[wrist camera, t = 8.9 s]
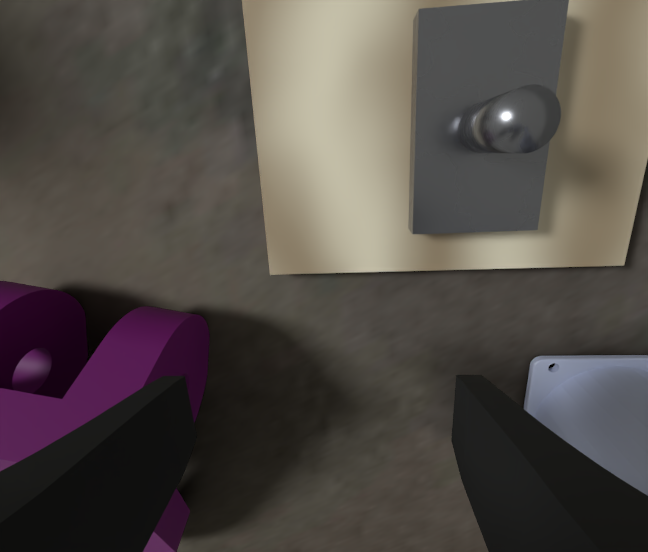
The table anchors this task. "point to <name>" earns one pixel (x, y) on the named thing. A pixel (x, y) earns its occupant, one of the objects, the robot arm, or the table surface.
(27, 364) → the mounting bracket
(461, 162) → the peg base
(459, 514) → the table surface
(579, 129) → the board
